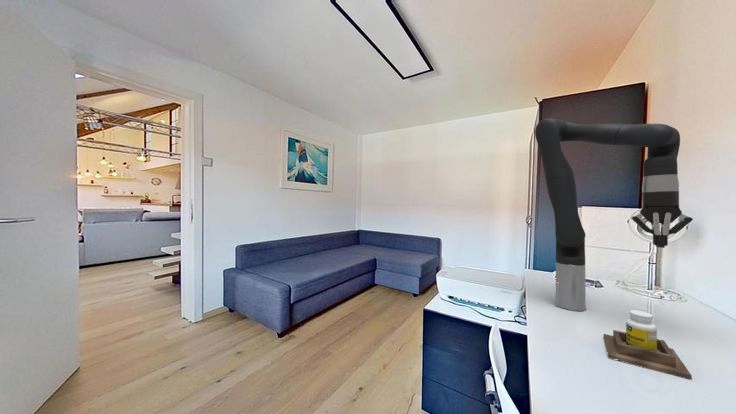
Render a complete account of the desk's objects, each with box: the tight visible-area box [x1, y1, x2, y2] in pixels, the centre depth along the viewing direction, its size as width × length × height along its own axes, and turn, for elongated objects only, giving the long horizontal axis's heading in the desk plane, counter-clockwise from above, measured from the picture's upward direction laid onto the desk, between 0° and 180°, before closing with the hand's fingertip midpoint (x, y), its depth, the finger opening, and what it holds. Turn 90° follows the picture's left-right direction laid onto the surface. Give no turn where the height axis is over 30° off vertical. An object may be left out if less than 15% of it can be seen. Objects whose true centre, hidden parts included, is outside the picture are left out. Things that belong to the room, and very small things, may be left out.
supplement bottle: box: [625, 309, 658, 351], centre depth 70 cm, size 6×6×10 cm
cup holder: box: [603, 329, 693, 381], centre depth 70 cm, size 14×14×4 cm
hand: (660, 247), depth 80 cm, fingers closed
